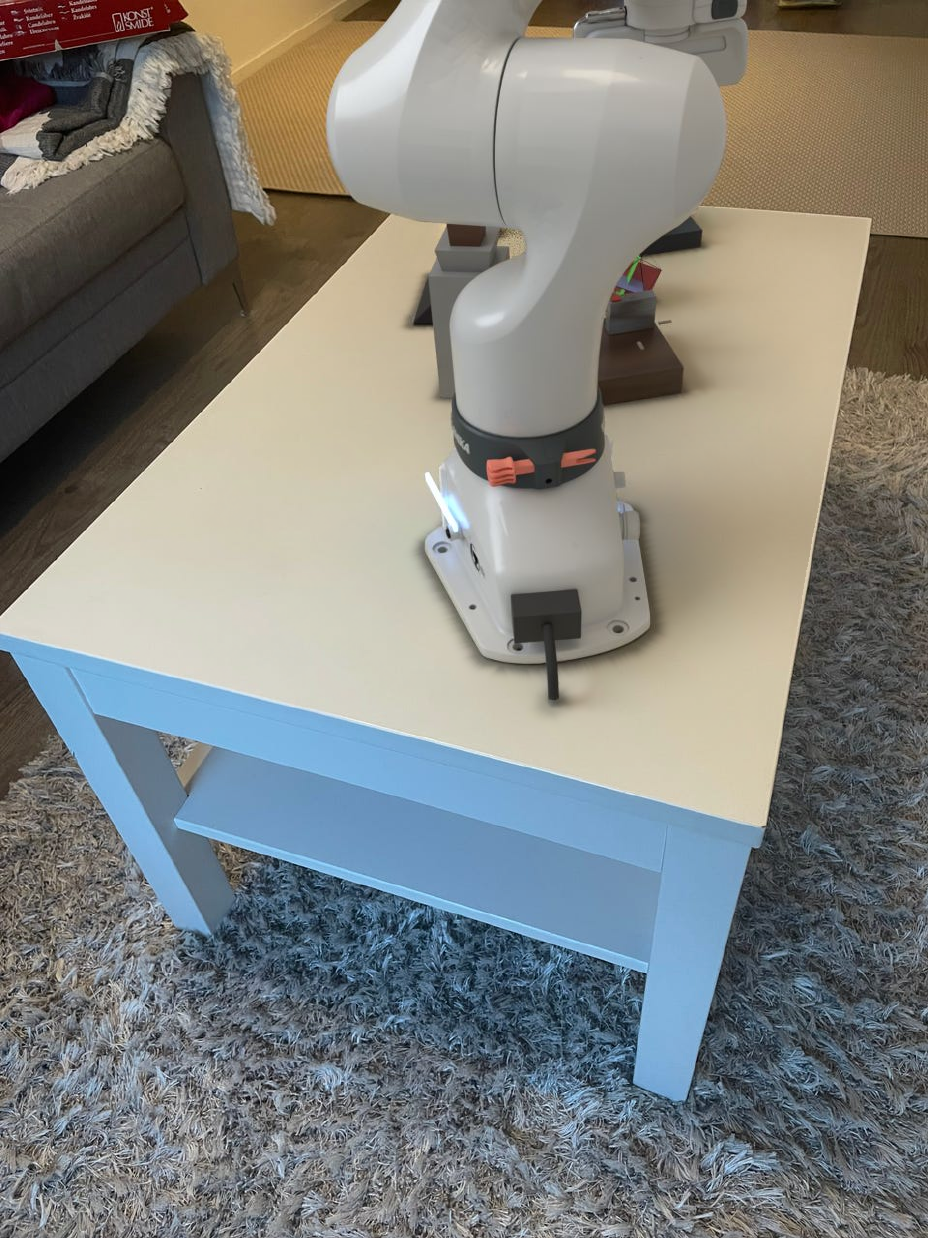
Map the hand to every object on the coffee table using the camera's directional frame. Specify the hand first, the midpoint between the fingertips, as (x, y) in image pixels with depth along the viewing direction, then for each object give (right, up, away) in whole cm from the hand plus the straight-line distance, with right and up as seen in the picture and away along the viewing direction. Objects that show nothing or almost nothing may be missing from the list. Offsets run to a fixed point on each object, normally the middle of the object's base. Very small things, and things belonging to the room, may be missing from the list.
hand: (654, 132), depth 117 cm
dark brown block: (-6, -32, -13) cm, 35 cm away
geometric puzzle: (-4, -22, -4) cm, 23 cm away
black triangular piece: (-25, -21, 0) cm, 32 cm away
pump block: (+1, -9, +9) cm, 12 cm away
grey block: (-5, -28, -14) cm, 32 cm away
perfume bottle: (-22, -34, -13) cm, 42 cm away
